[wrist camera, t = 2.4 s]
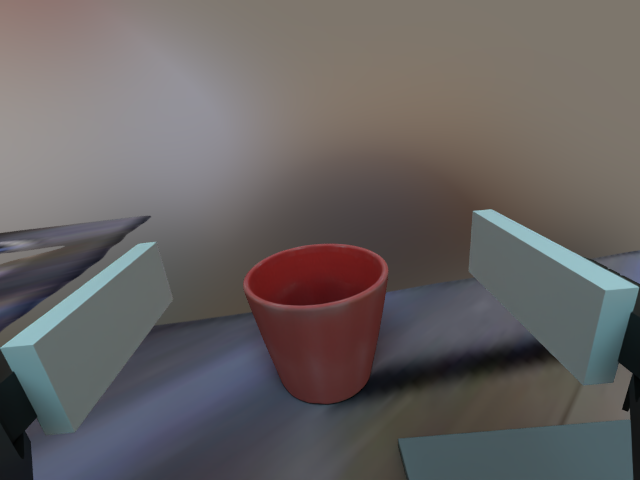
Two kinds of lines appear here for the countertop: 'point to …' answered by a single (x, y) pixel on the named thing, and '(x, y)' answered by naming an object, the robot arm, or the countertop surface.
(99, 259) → the countertop surface
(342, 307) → the flower pot
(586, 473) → the slate coaster
